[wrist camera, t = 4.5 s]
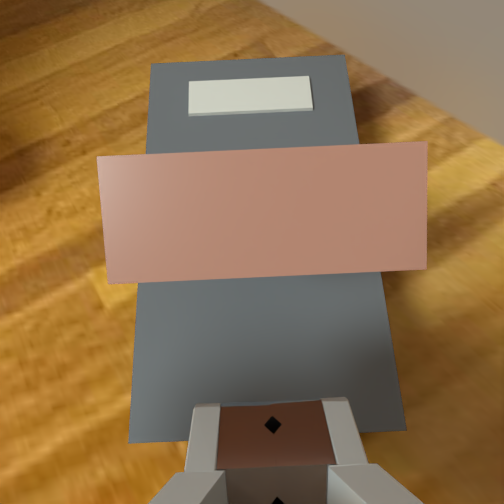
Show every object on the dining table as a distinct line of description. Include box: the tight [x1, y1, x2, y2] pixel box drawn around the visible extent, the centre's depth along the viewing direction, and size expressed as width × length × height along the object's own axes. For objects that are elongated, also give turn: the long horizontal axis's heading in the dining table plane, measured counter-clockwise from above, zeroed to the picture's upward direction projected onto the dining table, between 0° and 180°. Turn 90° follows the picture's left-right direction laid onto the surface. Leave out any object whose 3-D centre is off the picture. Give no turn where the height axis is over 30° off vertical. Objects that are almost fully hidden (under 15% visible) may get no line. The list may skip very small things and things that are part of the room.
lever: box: [97, 141, 427, 284], centre depth 13 cm, size 6×2×12 cm
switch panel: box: [128, 55, 407, 444], centre depth 20 cm, size 10×18×8 cm, turn 2°
